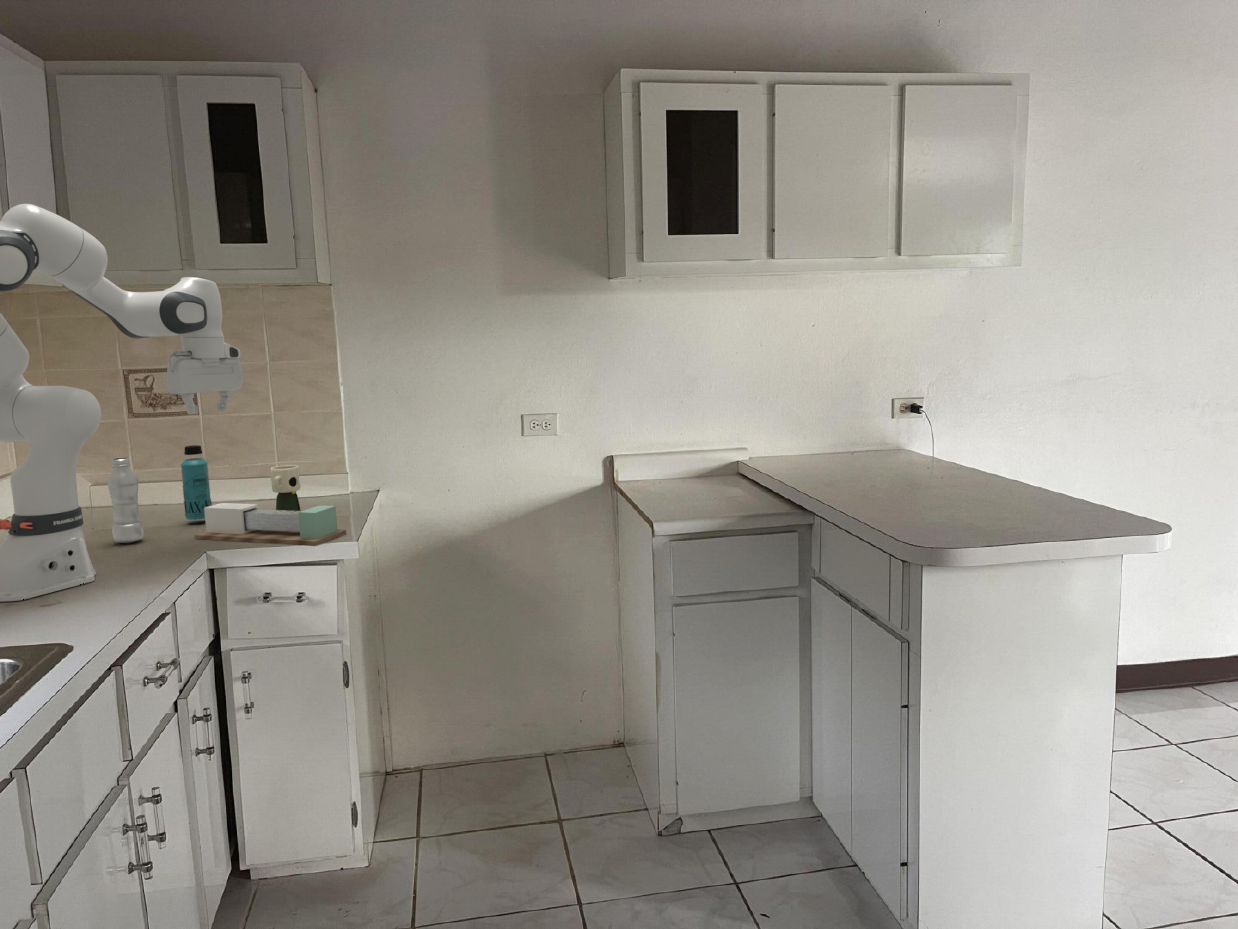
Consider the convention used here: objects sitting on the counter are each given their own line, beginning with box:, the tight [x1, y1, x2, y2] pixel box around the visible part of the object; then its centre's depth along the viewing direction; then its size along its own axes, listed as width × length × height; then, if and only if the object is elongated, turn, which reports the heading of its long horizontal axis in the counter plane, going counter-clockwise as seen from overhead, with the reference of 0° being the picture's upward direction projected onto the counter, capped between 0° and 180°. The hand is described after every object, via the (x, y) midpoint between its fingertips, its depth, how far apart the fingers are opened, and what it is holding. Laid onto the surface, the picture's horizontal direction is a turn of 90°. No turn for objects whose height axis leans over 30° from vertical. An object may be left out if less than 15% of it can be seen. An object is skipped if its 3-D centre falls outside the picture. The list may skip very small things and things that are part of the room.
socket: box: [298, 505, 338, 539], centre depth 220 cm, size 4×8×6 cm, turn 163°
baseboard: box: [193, 528, 347, 547], centre depth 224 cm, size 34×12×1 cm, turn 73°
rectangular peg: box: [244, 508, 302, 532], centre depth 223 cm, size 20×4×4 cm, turn 73°
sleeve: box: [204, 502, 259, 534], centre depth 227 cm, size 11×6×6 cm, turn 73°
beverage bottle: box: [180, 444, 212, 521], centre depth 241 cm, size 6×7×20 cm
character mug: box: [269, 464, 302, 511], centre depth 248 cm, size 11×7×13 cm, turn 173°
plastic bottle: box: [106, 456, 145, 544], centre depth 221 cm, size 6×7×20 cm
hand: (208, 412), depth 214 cm, fingers open, 8 cm apart
